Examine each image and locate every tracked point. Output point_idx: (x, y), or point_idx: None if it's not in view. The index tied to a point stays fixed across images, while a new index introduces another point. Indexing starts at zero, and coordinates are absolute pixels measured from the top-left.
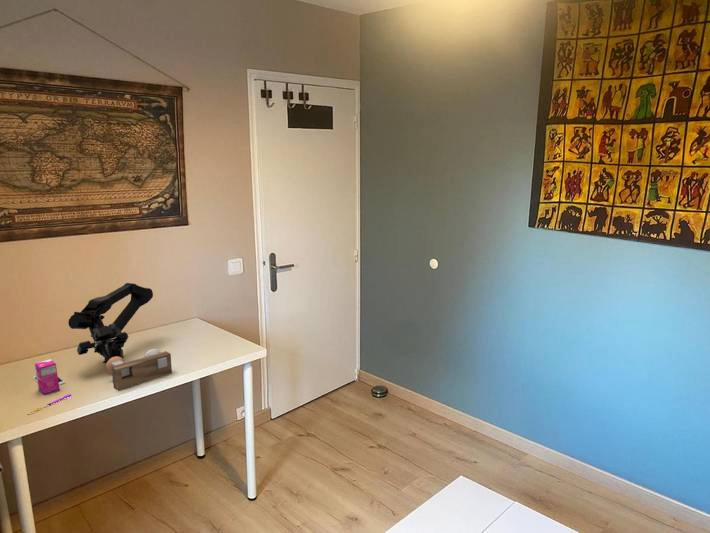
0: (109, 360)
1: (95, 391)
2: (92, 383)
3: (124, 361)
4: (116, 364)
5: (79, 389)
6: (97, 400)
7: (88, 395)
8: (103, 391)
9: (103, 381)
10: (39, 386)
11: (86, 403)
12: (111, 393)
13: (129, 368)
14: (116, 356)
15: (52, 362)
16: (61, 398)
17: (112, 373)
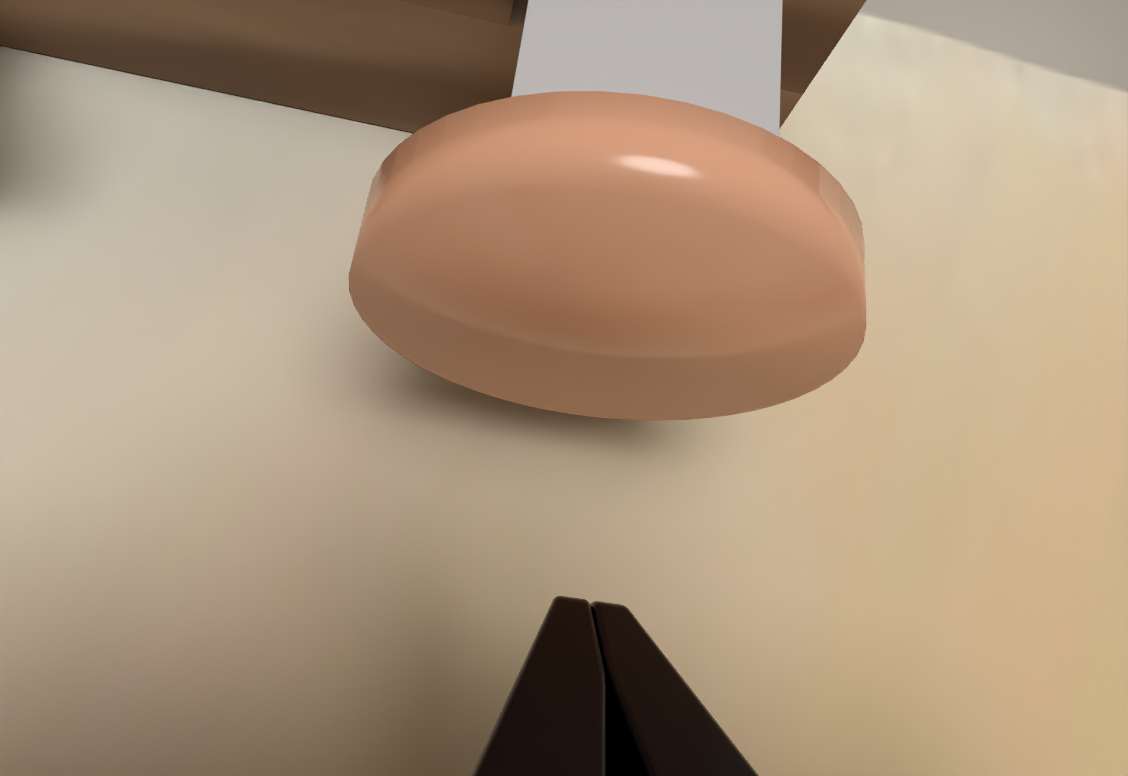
0: (842, 216)
1: (954, 306)
2: (898, 622)
3: (374, 186)
4: (727, 23)
5: (1112, 570)
6: (1009, 77)
7: (1057, 276)
8: (876, 216)
9: (736, 539)
10: None
11: (1121, 116)
12: (824, 87)
13: None
14: (594, 171)
15: None
16: None
17: (855, 2)
